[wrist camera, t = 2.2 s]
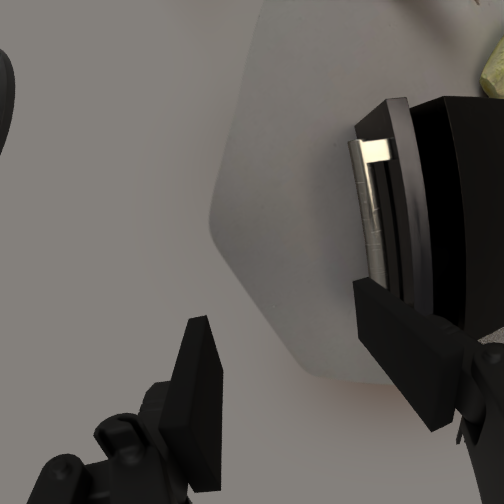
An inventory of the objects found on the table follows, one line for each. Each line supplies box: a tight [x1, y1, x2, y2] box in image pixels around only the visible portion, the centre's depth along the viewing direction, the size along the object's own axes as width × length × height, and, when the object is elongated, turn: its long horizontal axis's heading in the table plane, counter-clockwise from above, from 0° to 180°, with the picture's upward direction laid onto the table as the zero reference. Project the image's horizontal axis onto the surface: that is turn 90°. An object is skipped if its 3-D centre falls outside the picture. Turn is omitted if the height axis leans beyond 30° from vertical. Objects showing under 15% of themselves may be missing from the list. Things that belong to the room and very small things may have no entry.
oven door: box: [348, 97, 433, 317], centre depth 27 cm, size 5×20×14 cm, turn 12°
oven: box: [409, 96, 504, 340], centre depth 27 cm, size 16×20×14 cm
